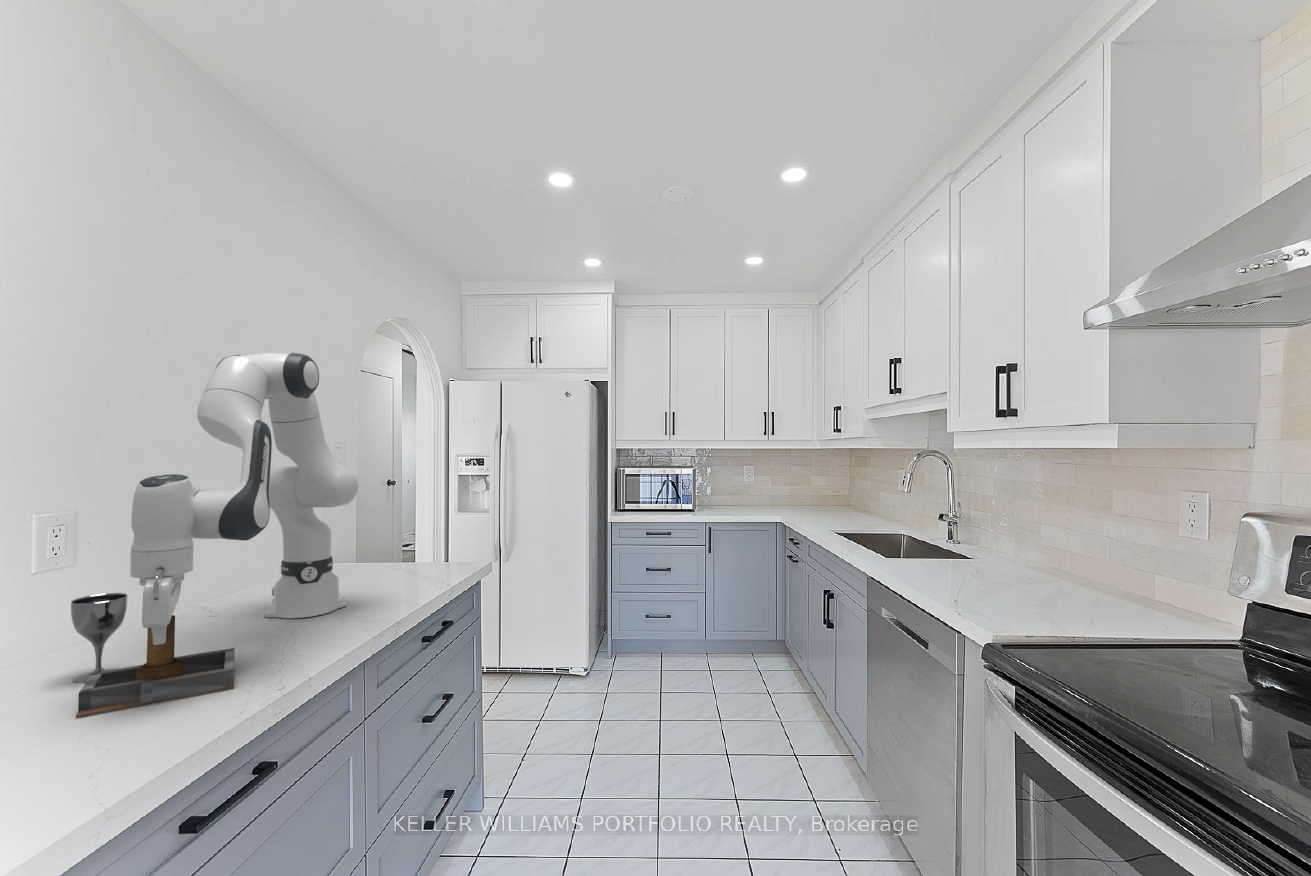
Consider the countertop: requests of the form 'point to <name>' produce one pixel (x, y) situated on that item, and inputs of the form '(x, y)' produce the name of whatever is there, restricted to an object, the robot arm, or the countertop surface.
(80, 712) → the tray
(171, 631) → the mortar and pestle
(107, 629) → the wine glass
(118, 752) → the countertop surface
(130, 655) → the countertop surface
